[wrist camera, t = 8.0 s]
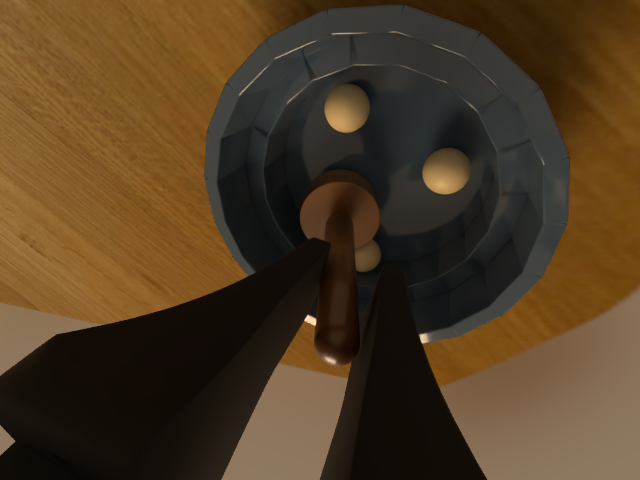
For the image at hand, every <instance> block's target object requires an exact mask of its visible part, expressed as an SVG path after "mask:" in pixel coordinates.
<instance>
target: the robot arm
mask: <svg viewBox="0 0 640 480" xmlns="http://www.w3.org/2000/svg"><path fill="white" fill-rule="evenodd" d="M330 247H331V243H329V242H326V241H324V240H321V239H318V238H315V237H313V238H310V239H309V240H307V241H306V242H305V243H303V244H302V245H300V246H299V247H297V248H296V249H294V250H293V251H291V252H290V253H288V254H286V255H285V256H283V257H282V258H280V259H278V260H277V261H275V262H273V263H272V264H270V265H268V266H267V267H265V268H263V269H261V270H259V271H257V272H255V273H253V274H252V275H250V276H248V277H246V278H244V279H242V280H240V281H238V282H236V283H234V284H231V285H229V286H227V287H225V288H222V289H220V290H218V291H215V292H213V293H210V294H208V295H205V296H203V297H200V298H197V299H194V300H192V301H189V302H186V303H183V304H180V305H177V306H174V307H171V308H168V309H165V310H161V311H157V312H154V313H150V314H147V315H143V316H139V317H136V318H132V319H128V320H124V321H119V322H115V323H111V324H106V325H101V326H97V327H91V328H87V329H82V330H77V331H72V332H67V333H62V334H57V335H55V336H54V337H52V338H51V339H49V340H48V341H46V342H45V343H44V344H42V345H41V346H40V347H38V348H37V349H35V350H34V351H33V352H32V353H30V354H29V355H27V356H26V357H25V358H23V359H22V360H21V361H19V362H18V363H17V364H16V365H14V366H13V367H12V368H10V369H9V370H8V371H6V372H5V373H4V374H2V375H1V376H0V425H1V426H2V427H3V428H4V429H5V430H6V432H7V433H9V435H10V436H11V437H12V438H13V439H14V440H15V441H16V442H15V443H13V444H12V445H11V446H10V447H9V448H8V449H7V450H6V451H5V452H4V453H3V454H2V455H1V456H0V480H221V479H222V477H223V475H224V472H225V470H226V468H227V466H228V464H229V462H230V460H231V457H232V455H233V453H234V451H235V449H236V447H237V444H238V442H239V440H240V438H241V436H242V434H243V432H244V430H245V428H246V425H247V423H248V421H249V419H250V417H251V415H252V413H253V411H254V409H255V407H256V405H257V403H258V400H259V398H260V396H261V394H262V392H263V390H264V388H265V386H266V384H267V382H268V380H269V379H270V377H271V375H272V373H273V371H274V369H275V368H276V366H277V364H278V363H279V361H280V360H281V358H282V356H283V355H284V353H285V351H286V350H287V348H288V346H289V345H290V343H291V342H292V340H293V338H294V337H295V335H296V333H297V332H298V330H299V328H300V327H301V325H302V323H303V322H304V320H305V318H306V317H307V315H308V313H309V311H310V309H311V307H312V305H313V303H314V300H315V298H316V296H317V294H318V292H319V287H320V279H321V276H322V273H323V271H324V269H325V266H326V263H327V259H328V255H329V251H330ZM320 480H487V478H486V477H485V475H484V473H483V472H482V470H481V468H480V467H479V465H478V463H477V461H476V459H475V458H474V456H473V454H472V452H471V450H470V448H469V446H468V444H467V443H466V441H465V439H464V437H463V435H462V433H461V431H460V429H459V428H458V426H457V424H456V422H455V420H454V418H453V416H452V414H451V412H450V410H449V408H448V406H447V404H446V402H445V399H444V397H443V395H442V393H441V391H440V388H439V386H438V384H437V381H436V379H435V377H434V374H433V372H432V369H431V367H430V364H429V362H428V359H427V356H426V354H425V351H424V348H423V345H422V342H421V339H420V336H419V333H418V329H417V326H416V322H415V319H414V315H413V311H412V307H411V303H410V298H409V294H408V288H407V282H406V273H405V271H404V269H402V268H399V267H396V266H393V265H391V264H388V263H385V262H384V264H383V267H382V269H381V272H380V274H379V277H378V279H377V282H376V284H375V287H374V289H373V292H372V294H371V297H370V299H369V302H368V304H367V307H366V310H365V313H364V316H363V319H362V322H361V325H360V348H359V352H358V354H357V355H356V357H355V358H354V359H353V360H352V363H351V368H350V372H349V377H348V382H347V387H346V391H345V396H344V401H343V404H342V408H341V413H340V416H339V419H338V423H337V426H336V429H335V433H334V436H333V439H332V442H331V445H330V449H329V452H328V455H327V458H326V462H325V465H324V468H323V471H322V474H321V477H320Z"/></svg>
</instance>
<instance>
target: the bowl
mask: <svg viewBox="0 0 640 480" xmlns="http://www.w3.org/2000/svg"><path fill="white" fill-rule="evenodd" d="M342 84H353V85H356V86H358V87H360V88H361V89H362V90H363V91H364V92H365V93H366V95H367V97H368V99H369V104H370V111H369V115H368V118H367V120H366V122H365V123H364V125H363V126H362V127H360V128H359V129H358V130H356V131H353V132H349V133H344V132H340V131H337V130H335V129H334V128H333V127H332V126H331V125H330V124H329V123H328V121H327V119H326V116H325V102H326V99H327V97H328V95H329V94H330V92H331V91H332V90H333V89H334V88H336V87H337V86H339V85H342ZM443 148H454V149H457V150H460V151H461V152H463V153H464V154H465V155H466V156H467V157H468V159H469V161H470V164H471V175H470V178H469V180H468V182H467V183H466V184H465V186H464V187H463V188H461V189H460V190H458V191H456V192H454V193H451V194H439V193H436V192H434V191H432V190H431V189H429V188H428V187H427V185H426V184H425V182H424V180H423V174H422V172H423V166H424V164H425V162H426V160H427V158H428V157H429V156H430V155H431V154H433V153H434V152H436V151H437V150H440V149H443ZM332 170H349V171H353V172H356V173H358V174H360V175H362V176H363V177H364V178H366V179H367V180H368V181H369V182H370V184H371V185H372V187H373V188H374V190H375V193H376V197H377V201H378V206H379V210H380V224H379V228H378V230H377V232H376V234H375V236H374V237H373V238H372V239H373V240H374V241H375V242H376V243H377V244H378V245H379V247H380V250H381V259H380V262H379V263H378V265H377V266H376V267H375V268H374V269H373V270H371V271H368V272H359V271H356V276H357V293H358V310H359V327H360V325H361V322H362V319H363V316H364V313H365V310H366V307H367V304H368V302H369V299H370V297H371V294H372V292H373V289H374V287H375V284H376V282H377V279H378V277H379V274H380V272H381V269H382V267H383V264H384V262H385V263H388V264H391V265H393V266H396V267H399V268H402V269H404V271H405V273H406V282H407V288H408V294H409V298H410V303H411V307H412V311H413V315H414V319H415V322H416V326H417V329H418V333H419V336H420V339H421V342H422V344H424V343H429V342H434V341H440V340H445V339H450V338H455V337H458V336H462V335H464V334H466V333H468V332H470V331H472V330H474V329H476V328H478V327H480V326H482V325H484V324H486V323H488V322H490V321H492V320H494V319H496V318H498V317H500V316H502V315H503V314H505V313H506V312H507V311H508V310H509V309H510V308H511V307H513V306H514V305H515V304H516V303H517V302H518V301H519V300H520V299H521V298H522V297H523V296H524V295H525V294H526V293H527V292H528V291H529V290H530V289H531V288H532V287H533V286H534V285H535V284H536V283H537V282H538V281H539V280H540V279H541V278H542V276H543V275H544V273H545V271H546V269H547V266H548V264H549V262H550V260H551V258H552V256H553V254H554V252H555V249H556V247H557V245H558V243H559V241H560V239H561V237H562V234H563V232H564V230H565V228H566V226H567V222H568V208H569V175H570V158H569V152H568V150H567V147H566V145H565V143H564V140H563V138H562V135H561V133H560V131H559V128H558V126H557V124H556V121H555V119H554V116H553V114H552V112H551V109H550V107H549V105H548V102H547V100H546V97H545V95H544V93H543V90H542V89H541V88H539V84H538V83H536V82H535V81H534V80H533V79H532V78H531V77H530V76H529V75H528V74H527V73H526V72H525V71H524V70H522V69H521V68H520V67H519V66H518V65H517V64H516V63H515V62H514V61H513V60H512V59H511V58H510V57H509V56H507V55H506V54H505V53H504V52H503V51H502V50H501V49H500V48H499V47H498V46H497V45H496V44H495V43H494V42H492V41H491V40H490V39H489V38H488V37H487V36H486V35H485V34H484V33H480V31H479V30H476V29H474V28H471V27H468V26H465V25H462V24H460V23H457V22H454V21H451V20H448V19H446V18H443V17H440V16H437V15H434V14H432V13H429V12H426V11H423V10H420V9H417V8H415V7H412V6H409V5H402V4H391V5H373V6H355V7H337V8H329V9H324V10H322V11H320V12H318V13H316V14H314V15H312V16H310V17H308V18H306V19H304V20H302V21H300V22H297V23H295V24H293V25H291V26H289V27H287V28H285V29H283V30H281V31H279V32H277V33H275V34H273V35H271V36H268V37H267V39H265V40H264V41H263V42H262V43H261V44H260V45H259V46H258V47H257V49H256V50H255V51H254V52H253V53H252V54H251V55H250V56H249V57H248V58H247V60H246V61H245V62H244V63H243V64H242V65H241V66H240V67H239V68H238V69H237V71H236V72H235V73H234V74H233V75H232V76H231V77H230V78H229V79H228V81H227V83H226V84H225V86H224V89H223V91H222V94H221V96H220V99H219V101H218V104H217V106H216V109H215V111H214V114H213V116H212V119H211V121H210V124H209V126H208V131H207V138H206V155H205V172H204V177H205V183H206V187H207V192H208V196H209V201H210V205H211V209H212V214H213V218H214V220H215V221H214V222H215V224H216V226H217V228H218V230H219V232H220V234H221V235H222V237H223V239H224V241H225V243H226V245H227V247H228V249H229V251H230V253H231V255H232V257H233V258H234V260H235V261H236V262H237V263H238V264H239V265H240V267H241V268H242V269H243V270H244V271H245V273H246V274H247V275H248V276H250V275H252V274H253V273H255V272H257V271H259V270H261V269H263V268H265V267H267V266H268V265H270V264H272V263H273V262H275V261H277V260H278V259H280V258H282V257H283V256H285V255H286V254H288V253H290V252H291V251H293V250H294V249H296V248H297V247H299V246H300V245H302V244H303V243H305V242H306V241H307V240H309V239H308V238H307V237H306V235H305V234H304V232H303V230H302V227H301V224H300V211H301V206H302V203H303V199H304V195H305V192H306V190H307V188H308V186H309V185H310V183H311V182H312V181H313V180H314V179H315V178H317V177H318V176H319V175H321V174H323V173H325V172H328V171H332ZM318 297H319V292H318V294H317V296H316V298H315V300H314V303H313V305H312V307H311V309H310V311H309V313H308V315H307V317H306V318H305V320H304V321H306V322H308V323H310V324H312V325H314V326H316V317H317V307H318Z"/></svg>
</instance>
